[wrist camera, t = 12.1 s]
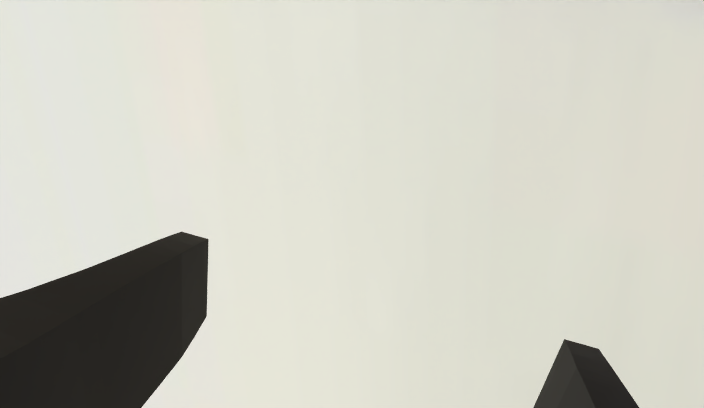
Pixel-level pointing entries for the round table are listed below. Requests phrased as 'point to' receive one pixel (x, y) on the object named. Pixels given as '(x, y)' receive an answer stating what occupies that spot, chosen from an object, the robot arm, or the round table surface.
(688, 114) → the round table surface
